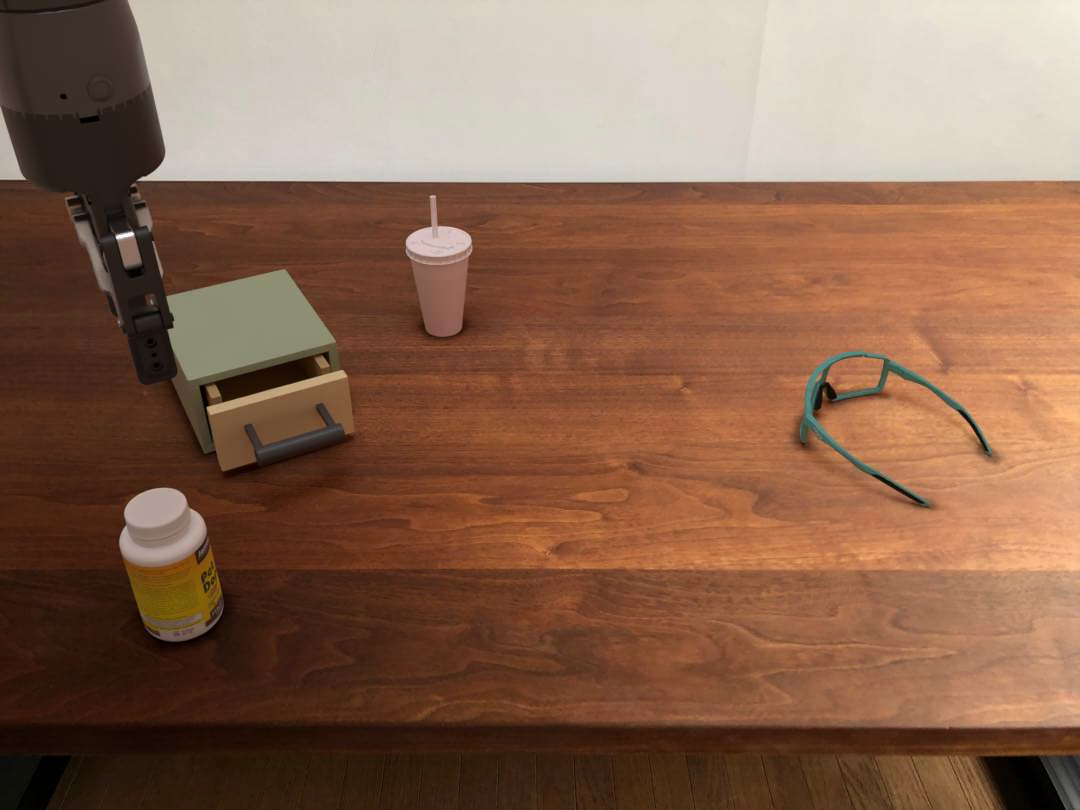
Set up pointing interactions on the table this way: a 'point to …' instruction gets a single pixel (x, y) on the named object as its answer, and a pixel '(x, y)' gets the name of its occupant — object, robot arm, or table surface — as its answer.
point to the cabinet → (240, 336)
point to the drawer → (278, 412)
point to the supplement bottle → (170, 565)
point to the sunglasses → (821, 385)
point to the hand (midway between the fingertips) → (143, 343)
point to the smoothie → (440, 274)
